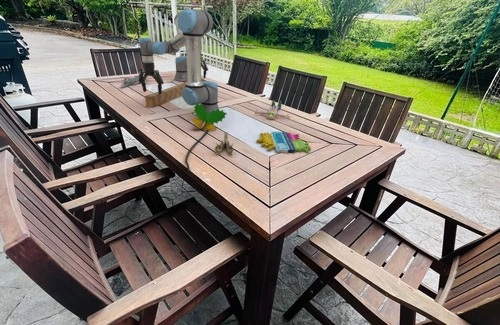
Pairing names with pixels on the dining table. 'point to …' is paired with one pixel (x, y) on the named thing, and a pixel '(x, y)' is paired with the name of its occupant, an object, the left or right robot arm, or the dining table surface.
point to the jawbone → (224, 145)
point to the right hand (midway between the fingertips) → (152, 92)
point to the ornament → (207, 117)
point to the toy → (273, 111)
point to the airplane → (131, 81)
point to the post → (164, 95)
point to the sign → (283, 142)
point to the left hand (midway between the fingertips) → (198, 77)
